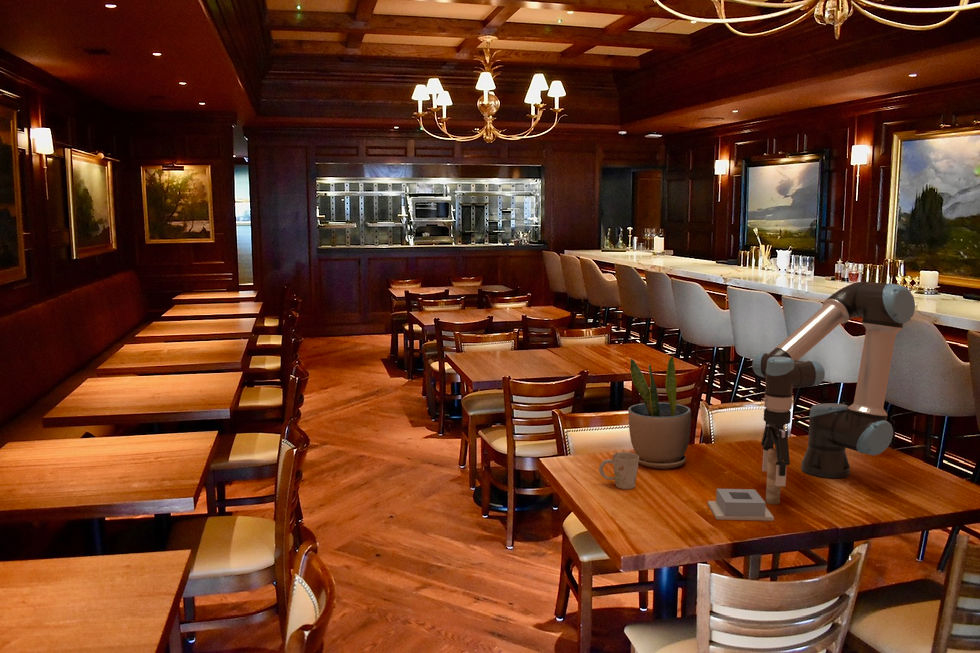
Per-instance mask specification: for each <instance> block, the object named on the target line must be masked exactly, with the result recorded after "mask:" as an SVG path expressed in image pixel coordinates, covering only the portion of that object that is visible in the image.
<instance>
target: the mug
mask: <svg viewBox="0 0 980 653" xmlns="http://www.w3.org/2000/svg"><path fill="white" fill-rule="evenodd" d="M606 464H612V465H613V472H614V473H613V474H614V476H607V475H606V474H605V471H604V467H605V466H606ZM638 469H639V456H638V455H637V454H636V453H634V452H630V451H629V452H628V451H619V452H618V451H617V452H615V453H613V454H612V458H611V459H609V458H607V459H604V460H603V461H602V462H600V464H599V466H598V472H599V474H600V476H601V477H603V478H604V479H605V480H610V481H614V482H615V487H616V488H618V489H620V490H621V489H623V490H632V489H634V488H635V487H636V480H637V473H638Z"/></svg>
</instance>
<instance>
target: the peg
mask: <svg viewBox="0 0 980 653" xmlns="http://www.w3.org/2000/svg"><path fill="white" fill-rule="evenodd" d="M776 462H778V461H777V454H776V448H774V449H769V450H768V466H767V471H766V488H765V503H767V504H770V505H779V504H780V503H781V488H782V486H775V481H776Z"/></svg>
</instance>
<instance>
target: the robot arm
mask: <svg viewBox="0 0 980 653" xmlns="http://www.w3.org/2000/svg"><path fill="white" fill-rule="evenodd" d="M915 310H916V304H915V298H914V294H912V292H911V290H910V289H909V288H908V287H906V286H905V285H901V284H895V283H883V282H871V281H856V282H852V283H850V284H848V285H845V286H844V287H842V288H839V290H837V291H835V292H833V294H831V295H830V296H829V297H827V298H826V299H825V300H824V301H823V303H822V307H821V308H820V309H819V310H817V311H816V312H815V313H814V314H813V315H812V316H810V317H809V318H808V319H807V320H806V321H805V322H803V323H801V325H800V326H799V327H798V328H797V329H795V330H794V331H793V332H792V333H791V334H790V335H789V336H787V337H786V338H785V339H783V341H782V342H780V344H778V345H777V346H776V347H775V348H774V349H772V351H770V352H769V353H767V352H761V353H758V354H756V356H754V357H753V361H752V363H751V366H752V370H753V372H754V374H755V375H756V376H758V377H762V378H764V379H765V387H764V388H765V393H764V397H763V398H762V401H763V402H764V409H763V421H764V422H765V425H764V429H763V434H762V438H761V443H760V444H761V446H762V452H763V453H762V468H761V469H762V470H761V471H762V472H767V466H768V450H769V449H776V454H777V461H778V462H776V481H775V486H781V487H786V485H787V484H786V482H787V466H790V464H791V461H790V450H789V449H790V448H789V441H788V440H789V438H788V437H789V432H788V430H785V427H784V426H785V425H789V424H790V423H791V420H792V419H791V416H792V413H791V409H792V403H793V389H799V388H806V387H807V388H811V387H815V386H819V385H820V384H822V383H823V381H824V380H825V368H824V366H823V365H822V364H821V363H820V362H819V361H815V360H807V361H803V360H801V358H803V357H804V356H805V355H806V354H808V352H810V350H812V349H813V348H815V346H816V345H818V344H819V343H820V342H821V341H822V340H824V338H826V337H827V336H828V335H829V334H830V333H831V332H832V331H833V330H835V328H836V327H838V326H839V325H840V324H841V325H843V324H846V323H847V322H849V321H850V320H851V319H854V318H862V320H861V321H862V322H861V324H862V326H863V327H864V328H865V335H864V339H863V341H864V342H863V347H862V353H861V359H860V364H859V371H858V376H857V381H856V388H855V394H854V399H853V403H852V404H851V405H847V404H844V403H837V402H836V403H835V402H834V403H831V402H830V403H818V404H814V405H812V406H811V407H810V409H809V412H810V413H809V416H808V417H809V418H808V419H809V420H808V443H807V444H808V445H807V449H806V451H805V453H804V456H803V458H802V461H801V470H802V471H803V472H804V473H805V474H808V475H811V476H814V477H820V478H826V479H842V478H846V477H849V476H850V474H851V467H850V462H849V458H848V455H847V452H846V451H847V450H846V449H849V450H852V451H855V452H857V453H860V454H866V455H869V456H877V455H880V454H882V453H883V452H884V451H886V450H887V449H888V447H889V446H890V444H891V442H892V439H893V437H894V429H893V426H892V424H891V423H890V422H889V421H887V419H888V413H887V412H886V409H884V407H885V406H884V405H885V401H886V394H887V389H888V384H889V382H888V381H889V377H890V370H891V365H892V360H893V359H892V358H893V353H894V349H895V348H894V347H895V342H896V336H897V334H898V333H899V332H900V331H901V330H903V327H904V324H906V323H908V322H909V321H911V319H912V317H914V314H915Z"/></svg>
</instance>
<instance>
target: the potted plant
mask: <svg viewBox="0 0 980 653" xmlns="http://www.w3.org/2000/svg"><path fill="white" fill-rule="evenodd" d="M629 360H630V361H629V363H630V376H631V379H632V380H631V381H632V384H633V385H634V387H635V389H636V390H637V392H638V393H639V395H640V396H641V399H642V401H644V403H637V404H634V405H631V406H629V407H628V408H627V411H628V428H629V429H628V430H629V438H630V442H631V445H632V448H633V451H634V452H635V454H637V455H638V456H639V463H638V465H641V466H644V467H647V468H651V469H652V468H653V469H660V470H661V469H662V470H663V469H664V470H666V469H676V468H679V467H682V465H684V464H685V463H686V462H687V456H686V455H685V454H686V451H687V449H688V447H689V443H690V436H691V424H692V421H691V420H692V419H691V418H692V416H691V415H692V414H691V413H692V411H691V408H690V407H688V406H686V405H682V404H678V403H677V377H676V368H675V362H674V361H675V359H674V354H673V355H671V356H670V358H669V359H668V362H667V366H666V375H665V383H664V384H665V385H664V386H665V391H666V395H667V398H668V402H661V401H660V402H659V394H658V389H657V385H656V382H655V378H654V375H653V368H652V366H651V365H650V363H649V364H648V373H649V380H650V386H649V384H648V383H647V380H646V378H645V376H644V374H643V372H642V371H641V369H640V367H639V365H638V363H636V361H635V360H634V359H633V358H630V359H629Z"/></svg>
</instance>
